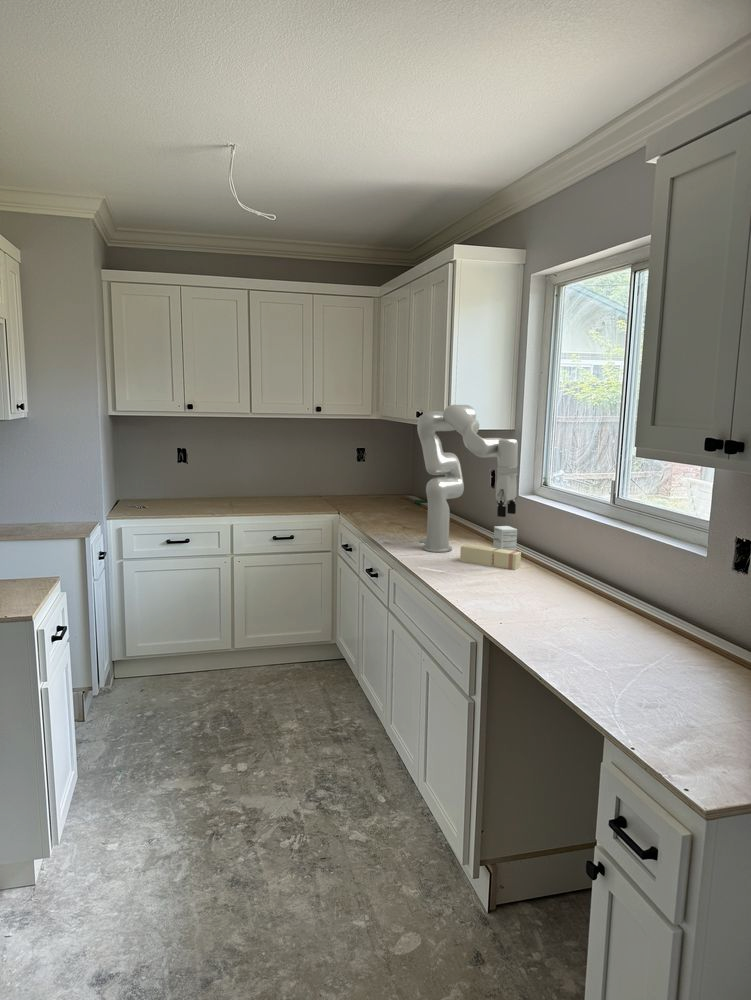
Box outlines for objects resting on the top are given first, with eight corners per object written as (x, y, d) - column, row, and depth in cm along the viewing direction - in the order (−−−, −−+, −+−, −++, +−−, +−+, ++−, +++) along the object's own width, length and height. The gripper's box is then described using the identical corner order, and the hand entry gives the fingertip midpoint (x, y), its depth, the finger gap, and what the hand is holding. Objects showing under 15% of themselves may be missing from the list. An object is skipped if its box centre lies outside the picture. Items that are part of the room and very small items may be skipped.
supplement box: (492, 555, 287) (493, 526, 285) (507, 554, 289) (509, 525, 287) (500, 559, 280) (501, 529, 278) (516, 558, 282) (517, 528, 280)
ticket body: (459, 561, 273) (460, 546, 272) (465, 558, 277) (466, 543, 276) (492, 566, 265) (493, 551, 264) (497, 564, 270) (498, 548, 269)
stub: (493, 566, 265) (494, 551, 264) (498, 563, 270) (499, 548, 269) (515, 570, 260) (515, 554, 259) (520, 567, 265) (521, 551, 264)
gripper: (507, 469, 269) (506, 511, 271) (489, 472, 255) (488, 517, 257) (525, 469, 265) (524, 513, 267) (507, 473, 250) (506, 518, 253)
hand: (506, 515), depth 262 cm, fingers open, 9 cm apart
